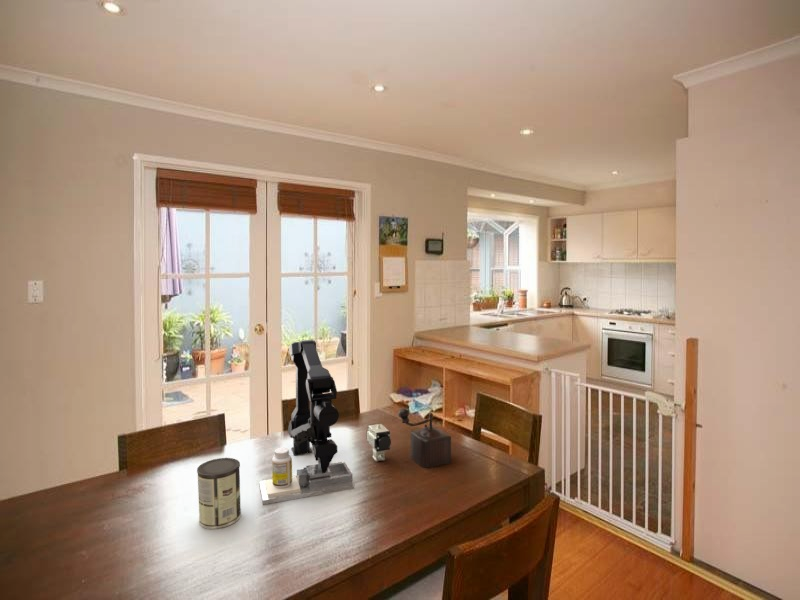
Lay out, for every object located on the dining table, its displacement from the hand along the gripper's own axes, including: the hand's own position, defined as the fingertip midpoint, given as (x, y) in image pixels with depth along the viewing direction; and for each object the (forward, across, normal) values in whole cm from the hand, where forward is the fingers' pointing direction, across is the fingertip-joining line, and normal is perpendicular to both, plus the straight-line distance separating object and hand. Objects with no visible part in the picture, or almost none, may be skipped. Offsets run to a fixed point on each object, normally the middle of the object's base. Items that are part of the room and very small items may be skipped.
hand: (320, 466), depth 138 cm
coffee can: (+6, +9, -28) cm, 30 cm away
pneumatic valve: (+6, -11, +22) cm, 25 cm away
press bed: (+4, 0, -11) cm, 12 cm away
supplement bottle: (+4, 0, -11) cm, 12 cm away
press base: (+6, 0, -4) cm, 7 cm away
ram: (+4, 0, -2) cm, 5 cm away
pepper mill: (+6, -4, +36) cm, 37 cm away
